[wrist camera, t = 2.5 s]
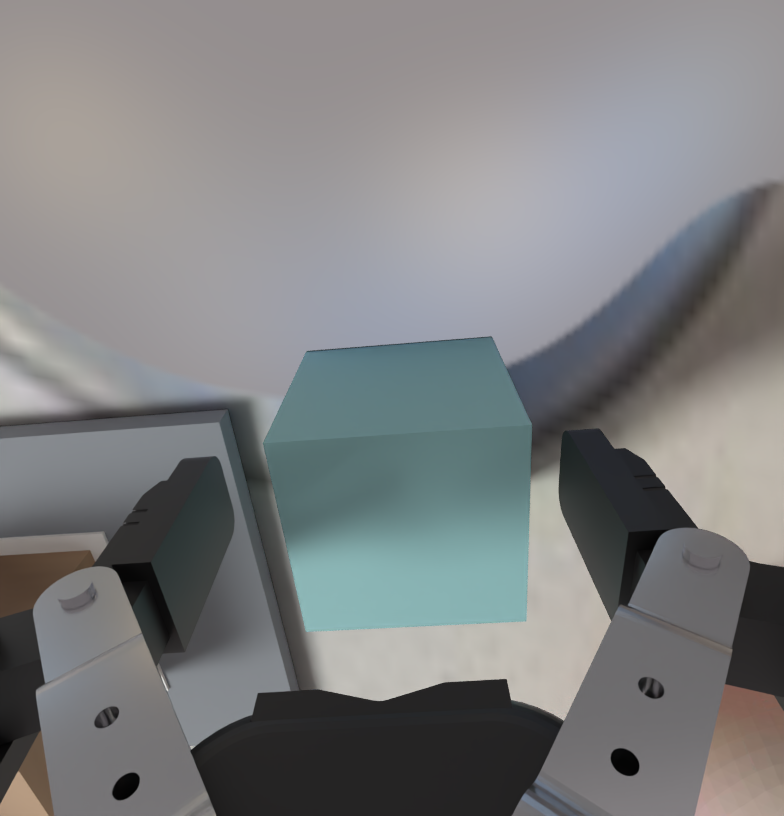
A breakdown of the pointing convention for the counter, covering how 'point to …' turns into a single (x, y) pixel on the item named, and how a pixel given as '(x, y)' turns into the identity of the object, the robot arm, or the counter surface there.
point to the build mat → (104, 514)
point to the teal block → (404, 486)
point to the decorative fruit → (745, 757)
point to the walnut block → (12, 593)
